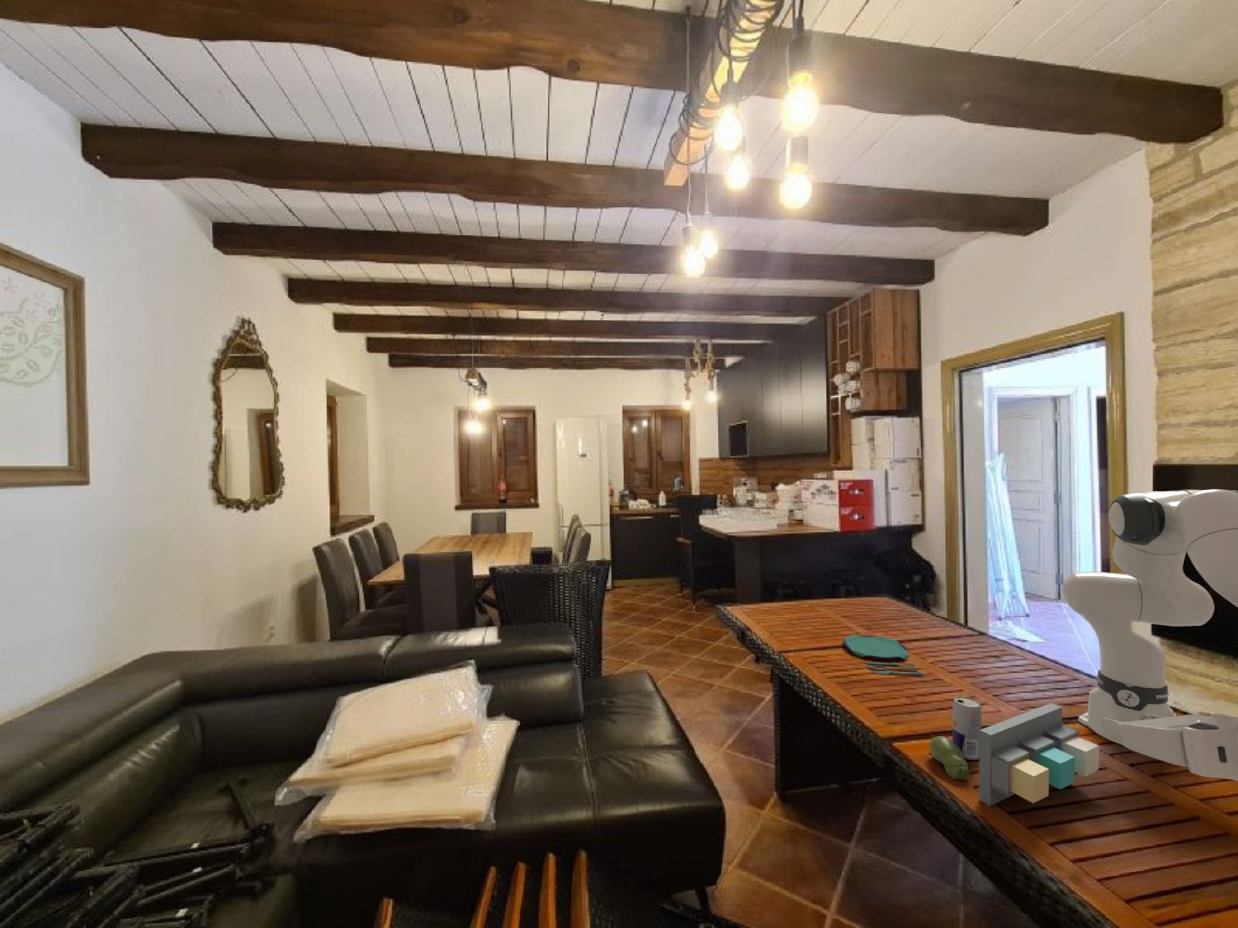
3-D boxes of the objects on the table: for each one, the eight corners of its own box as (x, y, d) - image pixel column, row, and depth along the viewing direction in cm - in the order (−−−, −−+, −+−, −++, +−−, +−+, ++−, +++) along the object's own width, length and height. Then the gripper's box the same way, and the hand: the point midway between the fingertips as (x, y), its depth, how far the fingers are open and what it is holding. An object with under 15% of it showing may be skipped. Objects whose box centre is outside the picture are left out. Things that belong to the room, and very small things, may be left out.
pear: (951, 731, 116) (979, 765, 106) (948, 751, 117) (976, 787, 107) (925, 730, 116) (951, 764, 106) (923, 750, 117) (948, 786, 108)
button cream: (1071, 757, 108) (1071, 734, 107) (1098, 769, 103) (1098, 745, 103) (1058, 763, 105) (1058, 739, 105) (1085, 776, 101) (1085, 751, 101)
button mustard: (1021, 781, 100) (1021, 756, 100) (1048, 795, 96) (1048, 768, 96) (1006, 788, 98) (1006, 762, 98) (1033, 803, 94) (1033, 776, 94)
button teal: (1047, 769, 104) (1047, 744, 104) (1074, 782, 100) (1074, 756, 100) (1033, 775, 102) (1033, 750, 102) (1060, 789, 98) (1060, 763, 97)
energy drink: (953, 744, 121) (954, 693, 120) (981, 752, 117) (982, 700, 117) (950, 754, 116) (951, 702, 116) (979, 763, 113) (980, 709, 113)
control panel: (1050, 766, 112) (1051, 702, 112) (1078, 779, 107) (1079, 713, 107) (979, 799, 101) (979, 729, 101) (1007, 816, 97) (1008, 742, 96)
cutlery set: (896, 641, 185) (896, 635, 185) (930, 679, 156) (930, 672, 156) (837, 639, 189) (837, 632, 189) (860, 675, 159) (860, 668, 159)
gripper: (1273, 719, 80) (1159, 697, 93) (1188, 730, 74) (1079, 705, 87) (1282, 764, 79) (1166, 735, 92) (1197, 778, 73) (1085, 745, 86)
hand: (1123, 720), depth 89 cm, fingers open, 8 cm apart
